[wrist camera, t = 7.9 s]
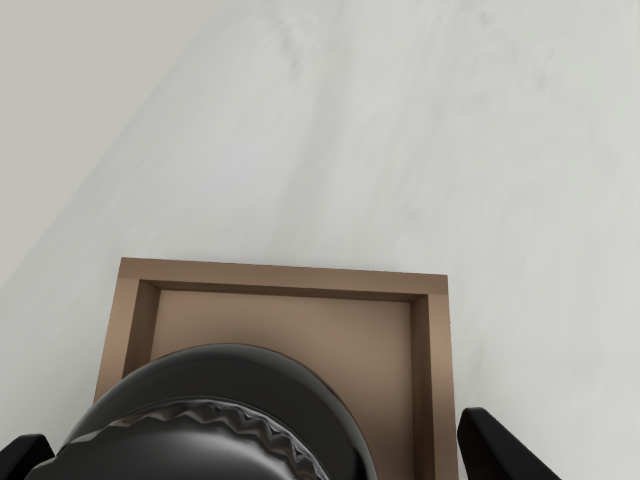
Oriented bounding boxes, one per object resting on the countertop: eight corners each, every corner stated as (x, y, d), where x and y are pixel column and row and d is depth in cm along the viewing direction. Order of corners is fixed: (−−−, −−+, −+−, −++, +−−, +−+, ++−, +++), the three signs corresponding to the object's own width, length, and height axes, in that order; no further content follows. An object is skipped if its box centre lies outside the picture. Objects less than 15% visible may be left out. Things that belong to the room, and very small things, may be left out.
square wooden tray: (415, 582, 17) (469, 685, 12) (120, 578, 16) (38, 685, 11) (408, 295, 21) (447, 274, 15) (167, 283, 20) (121, 257, 15)
